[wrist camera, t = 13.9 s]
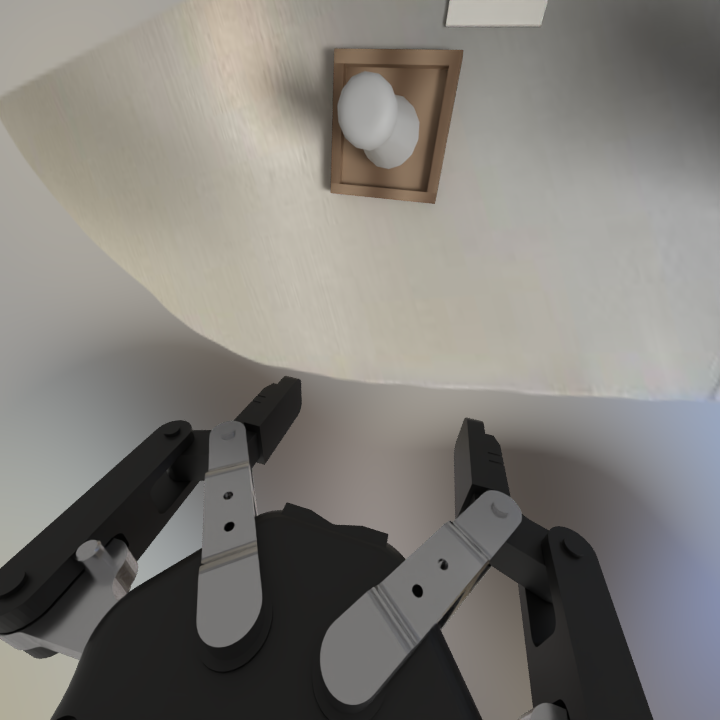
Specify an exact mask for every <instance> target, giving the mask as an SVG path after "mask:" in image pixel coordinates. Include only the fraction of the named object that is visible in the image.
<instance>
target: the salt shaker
mask: <svg viewBox="0 0 720 720" xmlns="http://www.w3.org/2000/svg"><path fill="white" fill-rule="evenodd" d="M337 107H338V122H339V125H340V127H341V129H342V132H343V134H344V136H345V138H346V139H347V140H348V141H349V142H350V143H351V144H352V145H354V146H355V147H356V148H360V149H363V150H364V152H365V154H366V156H367V158H368V159H369V160H370V161H372V162H373V163H374V164H375V165H376V166H378V167H382V168H387V169H390V168H393V167H396V166H399V165H402V164H403V163H404V162H405V161H406V160H407V159H408V158H409V157H410V156H411V155H412V153H413V151H414V148H415V146H416V144H417V141H418V137H419V120H418V117H417V114H416V111H415V109H414V107H413V106H412V105H411V104H410V103H409V102H408V101H407V100H406V99H405V98H404V97H403V96H398V95H395V94H394V92H393V89H392V86H391V84H390V83H389V82H388V81H386V80H385V79H384V78H383V77H382V76H381V75H380V74H378V73H373V72H367V71H364V72H361V73H359V74H357V75H355V76H352V77H351V78H350V80H349V81H348V82H347V84H346V85H345V86H344V88H343V89H342V92H341V95H340V99H339V102H338V105H337Z"/></svg>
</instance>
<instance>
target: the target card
mask: <svg viewBox="0 0 720 720" xmlns="http://www.w3.org/2000/svg"><path fill="white" fill-rule="evenodd" d="M547 2H548V0H450V2H449V9H448V15H447V21H446V27H540V26H541V24H542V20H543V16H544V13H545V9H546V6H547Z"/></svg>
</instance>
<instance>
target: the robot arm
mask: <svg viewBox="0 0 720 720" xmlns="http://www.w3.org/2000/svg"><path fill="white" fill-rule="evenodd" d="M301 404H302V398H301V380H300V379H297V378H293V377H288V376H284V378H282V379H281V381H280V382H279V383H278V384H274V383H273V384H271V385H269V386H267V387H265V388H264V389H263V390H262V391H261V392H260V393H259V394H258V396H256V397H255V398H254V399H253V401H252V402H251V403H250V404H249V405H248V406H247V407H246V408H245V409H244V410H243V411H242V412H241V414H239V416H237V418H236V419H235V420H234V421H227V422H223V423H221V424H219V425H217V426H216V427H214V428H213V429H212V430H192V427H191V425H190V423H188V422H186V421H182V420H179V421H172V422H169V423H166V424H164V425H162V426H161V427H159V428H158V429H157V430H156V431H154V432H153V434H151V435H150V436H149V437H148V438H147V439H146V440H144V441H143V442H142V443H141V444H140V445H139V446H138V447H136V448H135V449H134V450H133V451H132V452H131V453H130V454H129V455H128V456H126V457H125V458H124V459H123V460H122V461H121V462H120V463H119V464H117V465H116V466H115V467H114V468H113V469H112V470H111V471H109V472H108V473H107V474H106V475H105V476H104V477H103V478H102V479H101V480H99V481H98V482H97V483H96V484H95V485H94V486H93V487H91V488H90V489H89V490H88V491H87V492H86V493H85V494H84V495H82V496H81V497H80V498H79V499H78V500H77V501H76V502H75V503H74V504H72V505H71V506H70V507H69V508H68V509H67V510H66V511H64V512H63V513H62V514H61V515H60V516H59V517H58V518H57V519H56V520H54V521H53V522H52V523H51V524H50V525H49V526H48V527H46V528H45V529H44V530H43V531H42V532H41V533H40V534H39V535H38V536H36V537H35V538H34V539H33V540H32V541H31V542H30V543H29V544H27V545H26V546H25V547H24V548H23V549H22V550H21V551H19V552H18V553H17V554H16V555H15V556H14V557H13V558H12V559H10V560H9V561H8V562H7V563H6V564H5V565H4V566H3V567H1V569H0V639H1V640H3V641H5V642H6V643H8V644H9V645H11V646H12V647H14V648H16V649H18V650H23V651H25V652H26V653H28V654H29V655H31V656H33V657H35V658H39V659H42V658H47V657H51V656H53V655H55V654H57V653H61V654H64V655H67V656H70V657H73V658H75V659H78V660H80V661H79V663H78V666H77V668H76V671H75V674H74V676H73V678H72V680H71V682H70V685H69V687H68V689H67V691H66V693H65V695H64V696H63V699H62V700H61V702H60V704H59V706H58V707H57V709H56V711H55V713H54V714H53V716H52V718H51V720H482V718H481V716H480V714H479V711H478V709H477V707H476V705H475V703H474V700H473V698H472V696H471V694H470V692H469V690H468V688H467V685H466V684H465V681H464V679H463V677H462V675H461V673H460V670H459V668H458V666H457V664H456V662H455V660H454V658H453V655H452V653H451V651H450V649H449V647H448V645H447V643H446V641H445V638H444V636H443V634H442V632H441V630H442V629H443V628H444V626H445V625H446V624H447V623H448V621H449V620H450V619H451V618H452V616H453V615H454V614H455V612H456V611H457V610H458V608H459V607H460V606H461V604H462V603H463V601H464V600H465V599H466V598H467V596H468V595H469V594H470V593H471V591H472V590H473V589H474V588H475V586H476V585H477V584H478V583H479V582H480V580H481V579H482V578H483V576H484V575H485V574H486V573H487V572H488V570H489V569H490V568H491V567H492V566H493V567H494V568H496V569H497V570H499V571H500V572H502V573H503V574H505V575H506V576H508V577H509V578H511V579H512V580H514V581H516V582H517V583H518V587H519V595H520V603H521V611H522V620H523V628H524V636H525V644H526V652H527V661H528V669H529V678H530V686H531V694H532V702H533V709H531V710H530V711H528V712H526V713H524V714H523V715H521V716H520V717H519V718H518V720H653V717H652V714H651V712H650V709H649V706H648V703H647V700H646V697H645V694H644V691H643V688H642V686H641V683H640V680H639V677H638V674H637V671H636V668H635V665H634V662H633V660H632V657H631V654H630V651H629V648H628V646H627V642H626V639H625V637H624V634H623V631H622V628H621V625H620V622H619V619H618V617H617V613H616V611H615V608H614V605H613V602H612V599H611V596H610V593H609V591H608V588H607V585H606V582H605V579H604V576H603V573H602V570H601V567H600V565H599V561H598V559H597V556H596V554H595V552H594V550H593V548H592V547H591V545H590V544H589V543H588V542H587V541H586V540H585V539H584V538H583V537H582V536H580V535H579V534H578V533H576V532H575V531H573V530H571V529H568V528H565V527H560V526H558V527H553V528H552V529H550V531H549V530H547V529H545V528H543V527H542V526H540V525H538V524H536V523H534V522H533V521H531V520H529V519H528V518H526V517H525V516H524V515H523V514H522V513H521V510H520V508H519V507H518V505H517V504H516V502H514V501H513V499H512V498H511V497H510V493H509V487H508V482H507V477H506V472H505V467H504V465H503V464H504V462H503V458H502V453H501V448H500V445H499V443H498V442H497V440H496V439H495V437H494V436H492V435H488V434H485V430H484V424H483V422H482V421H479V420H474V419H470V418H465V419H464V421H463V424H462V427H461V430H460V433H459V435H458V438H457V441H456V444H455V450H454V473H455V521H453V522H451V521H448V522H447V523H445V524H444V525H443V526H442V527H441V528H440V529H439V530H437V531H436V532H435V533H434V534H433V535H432V536H431V537H430V538H429V539H428V540H427V541H426V542H425V543H424V544H422V545H421V546H420V547H419V548H418V549H417V550H416V551H415V552H414V553H413V554H412V555H411V556H409V557H408V558H407V559H405V558H404V557H403V556H402V555H401V554H400V553H399V552H398V551H397V550H396V549H395V548H394V547H393V546H391V545H390V544H388V543H387V539H388V534H386V533H383V532H380V531H376V530H374V529H370V528H367V527H364V526H352V525H334V524H332V523H330V522H328V521H327V520H325V519H324V518H322V517H321V516H319V515H318V514H316V513H315V512H313V511H312V510H309V509H306V508H303V507H300V506H297V505H293V504H290V503H286V505H285V507H284V509H283V510H277V511H270V512H266V513H263V514H260V515H258V512H257V506H256V497H255V489H254V480H253V471H252V468H253V466H254V465H255V463H256V462H257V463H261V464H264V465H265V463H266V462H267V461H268V459H269V457H270V456H271V455H272V453H273V452H274V450H275V448H276V447H277V445H278V444H279V443H280V441H281V440H282V438H283V437H284V435H285V434H286V432H287V431H288V429H289V428H290V426H291V425H292V423H293V422H294V420H295V419H296V417H297V416H298V414H299V412H300V409H301ZM202 480H203V481H204V480H205V486H204V514H203V539H202V540H203V541H202V548H201V549H199V550H198V551H196V552H194V553H193V554H191V555H189V556H188V557H186V558H184V559H183V560H181V561H179V562H178V563H176V564H174V565H173V566H171V567H169V568H168V569H166V570H164V571H163V572H161V573H159V574H157V575H156V576H154V577H153V578H151V579H149V580H147V581H146V582H144V583H142V584H141V585H139V586H137V587H136V588H134V589H133V590H132V591H130V588H131V584H132V583H133V581H134V580H135V577H136V575H137V572H138V563H137V561H138V559H139V558H140V557H141V556H142V554H143V553H144V552H145V550H146V549H147V548H148V546H149V545H150V544H151V543H152V541H153V540H154V539H155V538H156V536H157V535H158V534H159V533H160V531H161V530H162V529H163V527H164V526H165V525H166V524H167V522H168V521H169V520H170V518H171V517H172V516H173V515H174V513H175V512H176V511H177V509H178V508H179V507H180V506H181V504H182V503H183V502H184V500H185V499H186V498H187V496H188V495H189V494H190V493H191V491H192V490H193V489H194V488H195V486H196V485H197V484H198V482H199V481H202ZM129 591H130V592H129ZM128 592H129V593H128Z"/></svg>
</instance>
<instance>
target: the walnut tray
mask: <svg viewBox="0 0 720 720" xmlns="http://www.w3.org/2000/svg"><path fill="white" fill-rule="evenodd" d="M462 58H463V50H415V49H334V82H333V121H332V161H331V193H336V194H346V195H355V196H365V197H375V198H384V199H394V200H403V201H413V202H423V203H432V204H435V201H436V195H437V190H438V185H439V179H440V174H441V169H442V164H443V158H444V153H445V148H446V143H447V137H448V132H449V127H450V121H451V116H452V111H453V106H454V100H455V95H456V90H457V85H458V79H459V74H460V69H461V64H462ZM364 71H367V72H373V73H378V74H380V75H381V76H382V77H383V78H384V79H385V80H386V81H388V82H389V83H390V84H391V86H392V89H393V92H394V94H395V95H398V96H403V97H404V98H405V99H406V100H407V101H408V102H409V103H410V104H411V105H412V106H413V107H414V109H415V111H416V114H417V117H418V120H419V137H418V141H417V144H416V146H415V148H414V151H413V153H412V155H411V156H410V157H409V158H408V159H407V160H406V161H405V162H404V163H403V164H402V165H399V166H396V167H393V168H390V169H387V168H382V167H378V166H376V165H375V164H374V163H373V162H372V161H370V160H369V159H368V158H367V156H366V154H365V152H364V150H363V149H360V148H356V147H355V146H354V145H352V144H351V143H350V142H349V141H348V140H347V139H346V138H345V136H344V134H343V132H342V129H341V127H340V125H339V122H338V107H337V105H338V102H339V99H340V95H341V92H342V89H343V88H344V86H345V85H346V84H347V82H348V81H349V80H350V78H351V77H352V76H355V75H357V74H359V73H361V72H364Z"/></svg>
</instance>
